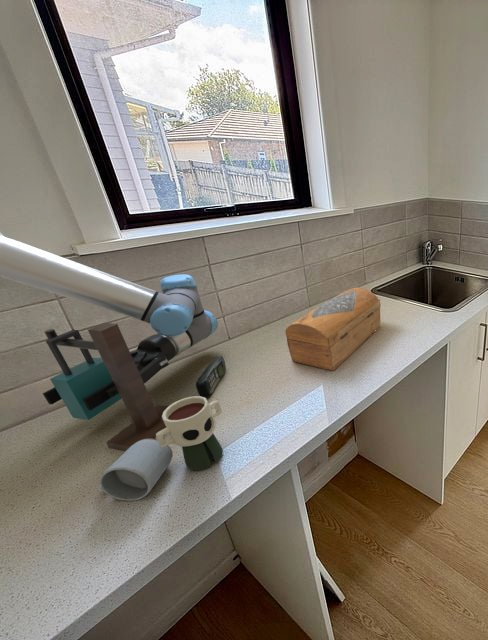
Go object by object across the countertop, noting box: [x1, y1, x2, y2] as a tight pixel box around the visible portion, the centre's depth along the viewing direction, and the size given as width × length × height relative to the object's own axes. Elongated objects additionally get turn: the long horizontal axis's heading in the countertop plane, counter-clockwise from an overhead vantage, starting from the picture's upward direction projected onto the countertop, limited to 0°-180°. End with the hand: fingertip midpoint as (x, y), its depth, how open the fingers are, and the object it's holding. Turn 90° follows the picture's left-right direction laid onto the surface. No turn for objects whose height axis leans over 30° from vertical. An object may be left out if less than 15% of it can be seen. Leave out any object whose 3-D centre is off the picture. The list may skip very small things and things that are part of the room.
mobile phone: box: [195, 356, 227, 399], centre depth 88 cm, size 5×3×15 cm
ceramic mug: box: [98, 438, 174, 502], centre depth 60 cm, size 11×8×8 cm
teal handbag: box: [45, 329, 122, 421], centre depth 69 cm, size 4×8×18 cm, turn 170°
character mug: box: [155, 395, 224, 471], centre depth 64 cm, size 11×7×13 cm, turn 149°
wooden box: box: [284, 287, 381, 371], centre depth 106 cm, size 30×16×14 cm, turn 159°
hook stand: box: [43, 322, 169, 452], centre depth 69 cm, size 18×12×26 cm
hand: (66, 401), depth 67 cm, fingers open, 9 cm apart
